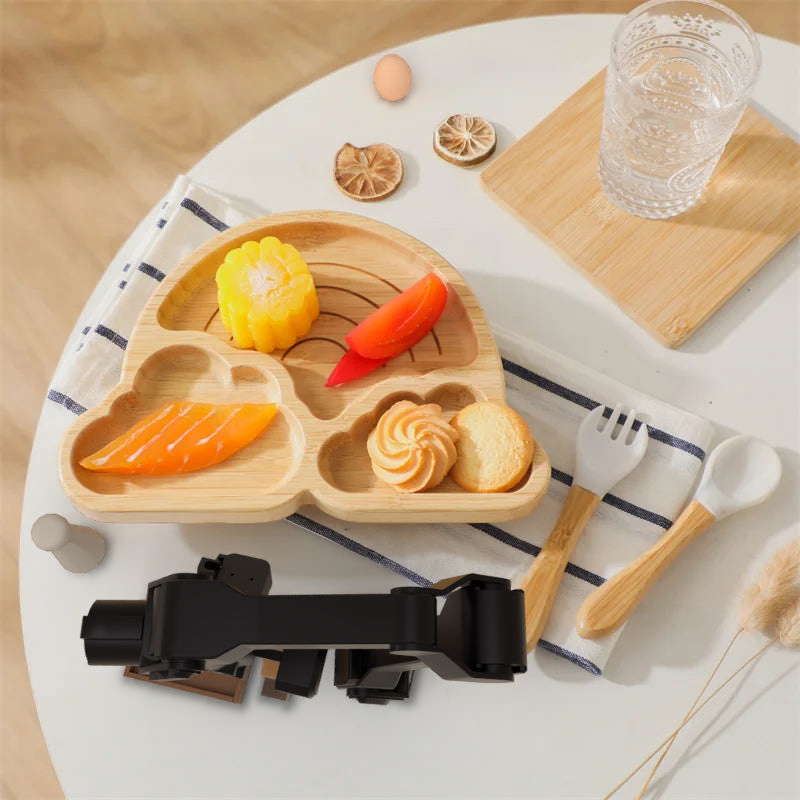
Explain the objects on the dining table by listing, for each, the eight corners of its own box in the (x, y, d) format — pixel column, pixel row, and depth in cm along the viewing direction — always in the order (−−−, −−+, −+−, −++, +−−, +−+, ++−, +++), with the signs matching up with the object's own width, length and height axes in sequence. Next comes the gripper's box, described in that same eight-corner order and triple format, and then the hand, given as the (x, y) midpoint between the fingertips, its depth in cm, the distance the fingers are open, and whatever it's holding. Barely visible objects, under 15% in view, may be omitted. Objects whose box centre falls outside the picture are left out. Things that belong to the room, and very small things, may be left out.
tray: (264, 618, 111) (261, 616, 109) (241, 704, 107) (237, 703, 105) (154, 593, 112) (149, 590, 111) (128, 677, 109) (122, 675, 107)
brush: (304, 641, 110) (295, 633, 103) (288, 702, 107) (278, 698, 100) (280, 635, 110) (269, 627, 103) (264, 696, 108) (252, 692, 101)
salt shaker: (102, 581, 113) (61, 560, 101) (59, 572, 114) (13, 550, 102) (116, 535, 115) (78, 510, 103) (74, 527, 116) (31, 500, 104)
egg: (403, 74, 140) (401, 38, 133) (418, 101, 138) (417, 66, 131) (369, 87, 139) (365, 51, 132) (384, 115, 137) (381, 80, 130)
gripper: (334, 572, 85) (350, 599, 99) (146, 531, 87) (188, 562, 102) (303, 695, 81) (324, 703, 95) (107, 648, 83) (157, 663, 98)
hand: (248, 654), depth 98 cm, fingers open, 9 cm apart
